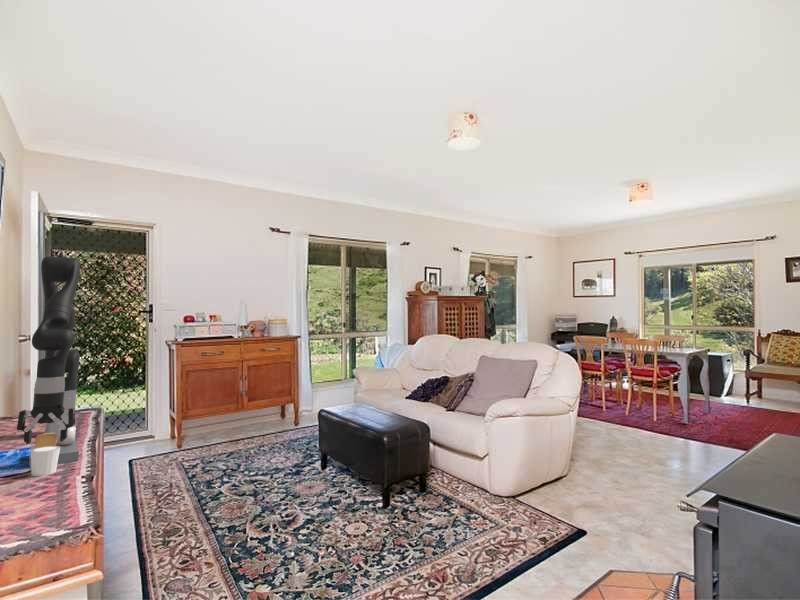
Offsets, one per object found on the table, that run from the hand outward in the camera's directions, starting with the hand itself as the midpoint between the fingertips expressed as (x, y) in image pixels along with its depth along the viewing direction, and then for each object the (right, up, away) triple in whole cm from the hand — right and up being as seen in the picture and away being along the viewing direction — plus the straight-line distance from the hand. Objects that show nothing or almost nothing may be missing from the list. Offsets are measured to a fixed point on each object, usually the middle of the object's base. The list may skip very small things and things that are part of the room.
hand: (45, 442), depth 135 cm
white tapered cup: (+8, -6, -10) cm, 14 cm away
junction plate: (0, -7, +4) cm, 8 cm away
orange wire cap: (0, -3, 0) cm, 3 cm away
